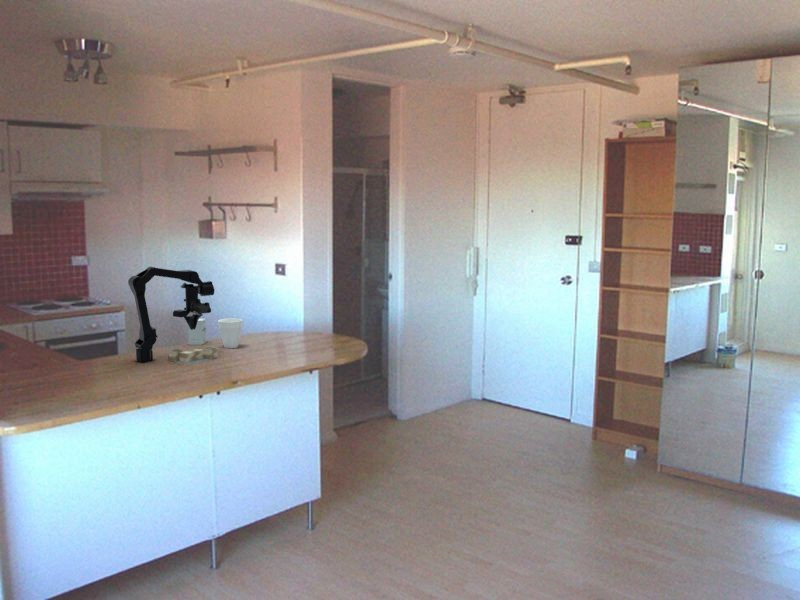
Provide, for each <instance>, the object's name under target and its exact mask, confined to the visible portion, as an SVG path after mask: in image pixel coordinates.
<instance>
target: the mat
mask: <svg viewBox="0 0 800 600" xmlns="http://www.w3.org/2000/svg"><path fill="white" fill-rule="evenodd" d="M216 359H217V358H215V359H214V360H216ZM211 360H213V359H211ZM211 360H210V359H204V358H203V359H199V360H194V361H190V362H181V361H177V362H176V363H177V364H178V363H179V364H184V365H189V366H190V365H191V366H192V365H194V364H198V363H203V362H207V361H211ZM172 362H173V363H175V362H174V361H172Z"/></svg>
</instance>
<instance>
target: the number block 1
mask: <svg viewBox="0 0 800 600" xmlns="http://www.w3.org/2000/svg"><path fill="white" fill-rule="evenodd" d="M180 352H184V350H183V349H177V348H175V349H171V350H168V361H170V362H173V361H174V362H173V363H178V362H177V361H179V353H180Z"/></svg>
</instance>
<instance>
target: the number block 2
mask: <svg viewBox="0 0 800 600" xmlns="http://www.w3.org/2000/svg"><path fill="white" fill-rule="evenodd" d="M202 349H203V358H204V359H210V360H209V361H211V359H212V360H216V359H219V357H218V348H217V347H210V346H209V347H206V348H202ZM215 358H216V359H215Z"/></svg>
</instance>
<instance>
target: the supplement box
mask: <svg viewBox="0 0 800 600" xmlns="http://www.w3.org/2000/svg"><path fill="white" fill-rule="evenodd" d="M187 327H188V329H187V332H188V335H187V336H188V345H189V346H203V345H204V344H206V343H207V320H206V318H199V319H198V322H197V325H196V328H195V329H193V330H191V329H190V327H189V325H188V324H187Z"/></svg>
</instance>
